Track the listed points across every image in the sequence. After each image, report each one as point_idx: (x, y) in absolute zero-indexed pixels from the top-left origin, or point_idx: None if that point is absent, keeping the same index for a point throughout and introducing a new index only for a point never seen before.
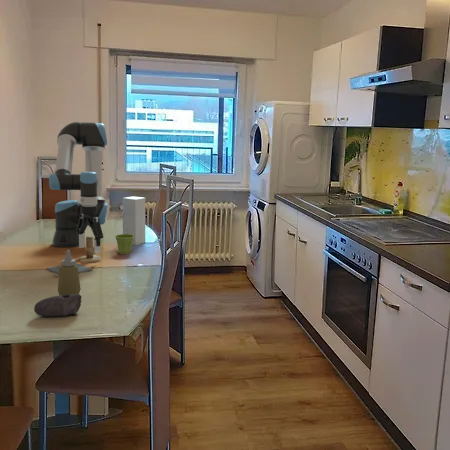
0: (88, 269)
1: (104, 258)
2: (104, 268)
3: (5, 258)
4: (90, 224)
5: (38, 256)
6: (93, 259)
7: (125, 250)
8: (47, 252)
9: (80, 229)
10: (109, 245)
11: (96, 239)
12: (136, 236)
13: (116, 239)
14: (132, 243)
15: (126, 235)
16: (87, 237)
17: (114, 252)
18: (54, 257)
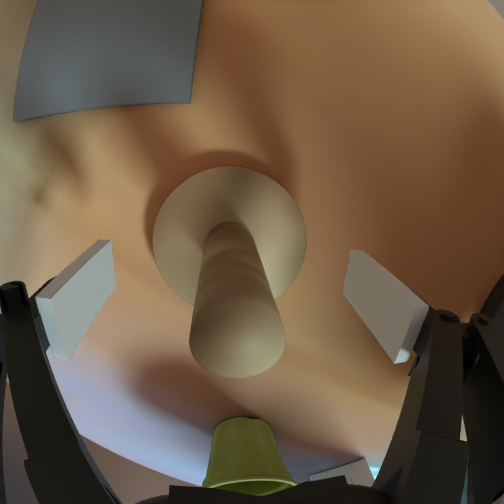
0: (20, 104)
1: None
2: (16, 200)
3: (491, 7)
4: (36, 491)
5: (474, 90)
6: (165, 237)
7: (215, 438)
8: (499, 173)
9: (442, 352)
10: (384, 426)
11: (39, 312)
12: None
13: (265, 468)
14: (323, 475)
15: None
16: (218, 307)
17: (281, 410)
18: (425, 121)
